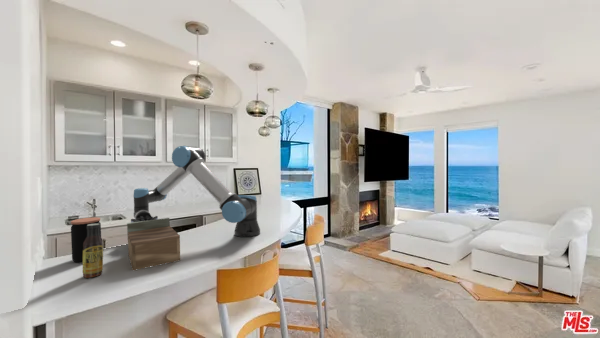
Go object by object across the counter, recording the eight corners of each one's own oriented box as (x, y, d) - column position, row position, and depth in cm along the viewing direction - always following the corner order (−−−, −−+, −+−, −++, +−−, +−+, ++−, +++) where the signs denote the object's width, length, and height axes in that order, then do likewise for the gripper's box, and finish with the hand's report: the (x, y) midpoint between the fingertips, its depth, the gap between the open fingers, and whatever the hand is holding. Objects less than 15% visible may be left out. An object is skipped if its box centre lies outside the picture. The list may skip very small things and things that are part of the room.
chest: (128, 255, 126) (127, 234, 126) (170, 248, 137) (169, 228, 137) (132, 270, 109) (131, 246, 108) (180, 260, 119) (179, 238, 119)
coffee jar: (104, 253, 130) (102, 216, 130) (99, 260, 121) (97, 220, 120) (76, 257, 126) (74, 218, 125) (68, 265, 116) (66, 223, 116)
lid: (127, 239, 128) (127, 223, 128) (169, 233, 139) (168, 217, 138) (132, 253, 108) (131, 233, 108) (180, 244, 119) (179, 226, 118)
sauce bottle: (84, 280, 100) (82, 227, 100) (81, 276, 104) (79, 225, 104) (106, 274, 105) (104, 224, 105) (101, 270, 109) (99, 221, 109)
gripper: (156, 222, 156) (162, 231, 137) (129, 225, 149) (132, 235, 130) (156, 209, 156) (162, 216, 137) (129, 212, 149) (132, 219, 129)
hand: (148, 225), depth 133 cm, fingers closed
